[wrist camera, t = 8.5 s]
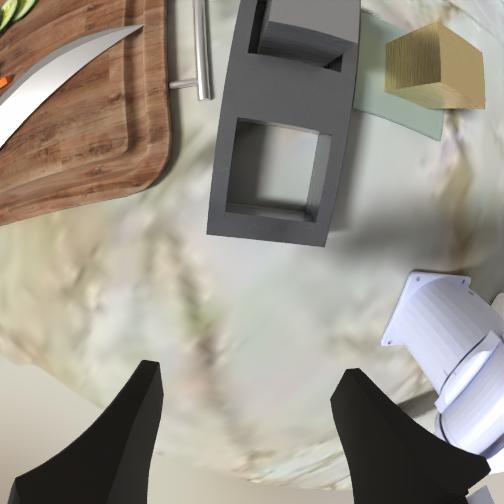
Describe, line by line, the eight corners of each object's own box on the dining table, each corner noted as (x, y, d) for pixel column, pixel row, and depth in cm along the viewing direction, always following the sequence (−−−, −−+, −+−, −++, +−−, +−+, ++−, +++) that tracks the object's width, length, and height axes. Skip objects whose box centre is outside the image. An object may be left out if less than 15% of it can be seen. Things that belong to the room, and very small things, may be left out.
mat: (442, 55, 13) (445, 54, 13) (437, 140, 16) (440, 141, 16) (359, 13, 12) (361, 11, 12) (350, 107, 15) (353, 106, 15)
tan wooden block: (427, 63, 13) (482, 52, 8) (427, 108, 15) (484, 109, 9) (385, 43, 13) (437, 21, 7) (384, 92, 14) (441, 82, 9)
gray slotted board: (346, 8, 12) (360, -5, 10) (313, 233, 18) (324, 247, 16) (246, -14, 11) (248, -32, 9) (209, 221, 18) (206, 234, 15)
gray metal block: (323, 22, 13) (359, -15, 7) (318, 70, 14) (357, 43, 9) (264, 9, 12) (278, -38, 7) (256, 58, 14) (268, 20, 8)
